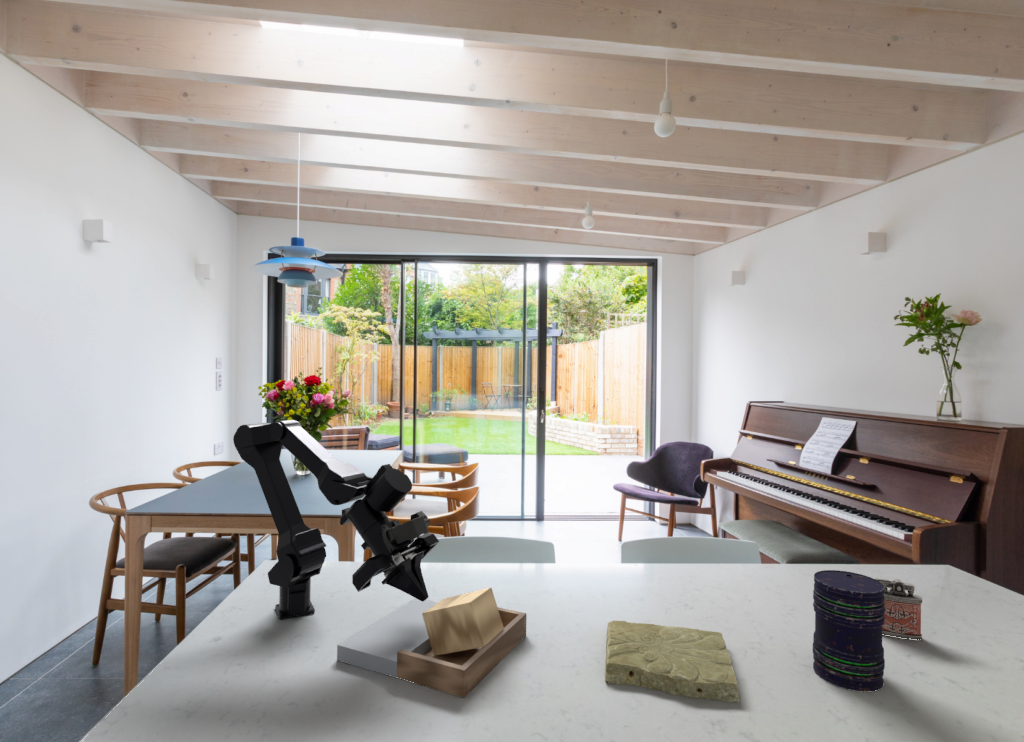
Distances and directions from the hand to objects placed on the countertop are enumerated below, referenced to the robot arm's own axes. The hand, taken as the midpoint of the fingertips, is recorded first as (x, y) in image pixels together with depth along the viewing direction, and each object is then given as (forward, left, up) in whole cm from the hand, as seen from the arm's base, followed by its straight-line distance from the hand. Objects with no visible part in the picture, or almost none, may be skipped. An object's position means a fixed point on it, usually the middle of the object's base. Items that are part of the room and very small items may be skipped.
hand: (425, 599), depth 99 cm
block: (+2, +2, -4) cm, 5 cm away
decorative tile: (+25, +32, -9) cm, 42 cm away
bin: (+7, +5, -8) cm, 11 cm away
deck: (-3, -2, -8) cm, 9 cm away
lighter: (+37, +77, -8) cm, 86 cm away
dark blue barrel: (+41, +55, -8) cm, 69 cm away
